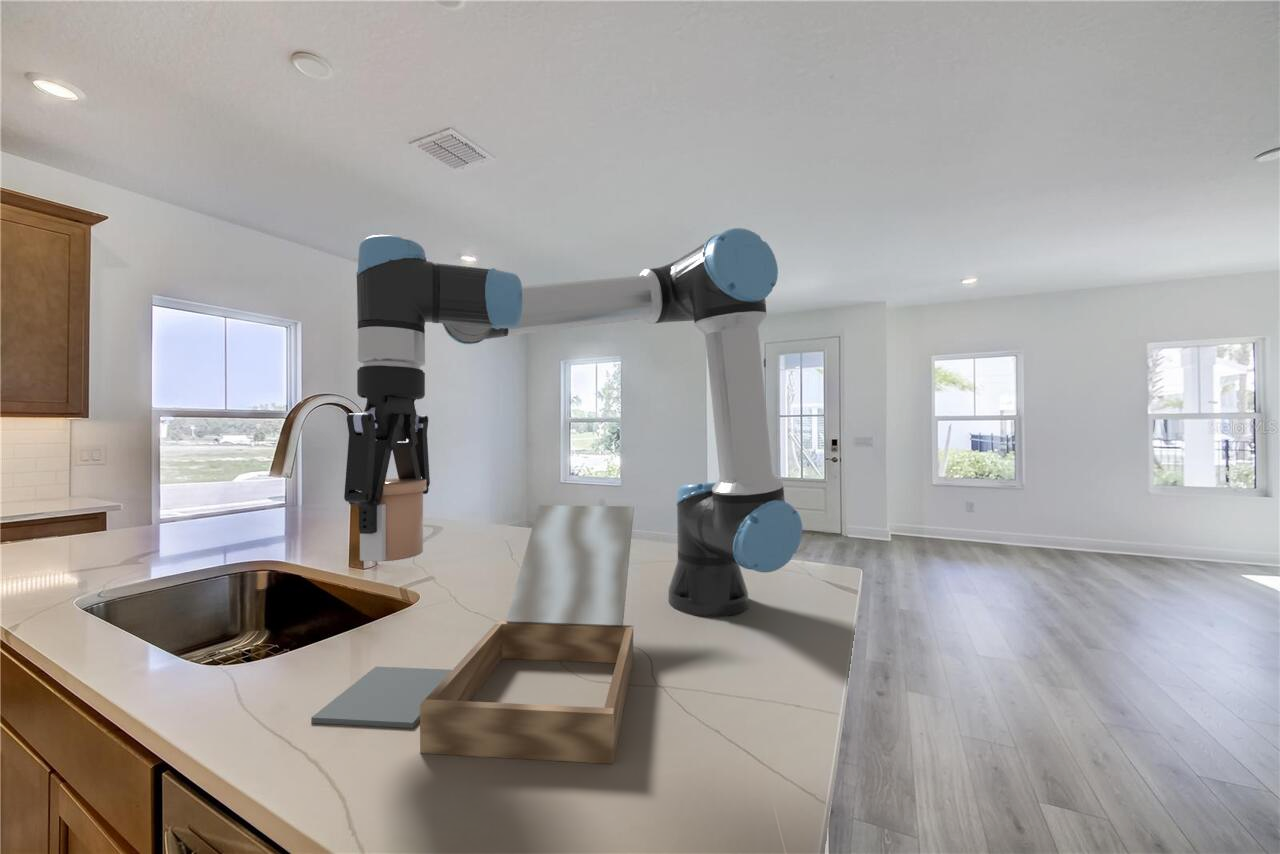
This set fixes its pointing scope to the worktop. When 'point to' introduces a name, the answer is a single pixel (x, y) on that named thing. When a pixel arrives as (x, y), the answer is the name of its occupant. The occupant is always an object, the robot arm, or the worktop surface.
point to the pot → (403, 517)
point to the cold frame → (547, 646)
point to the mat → (383, 698)
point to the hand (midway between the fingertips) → (391, 551)
